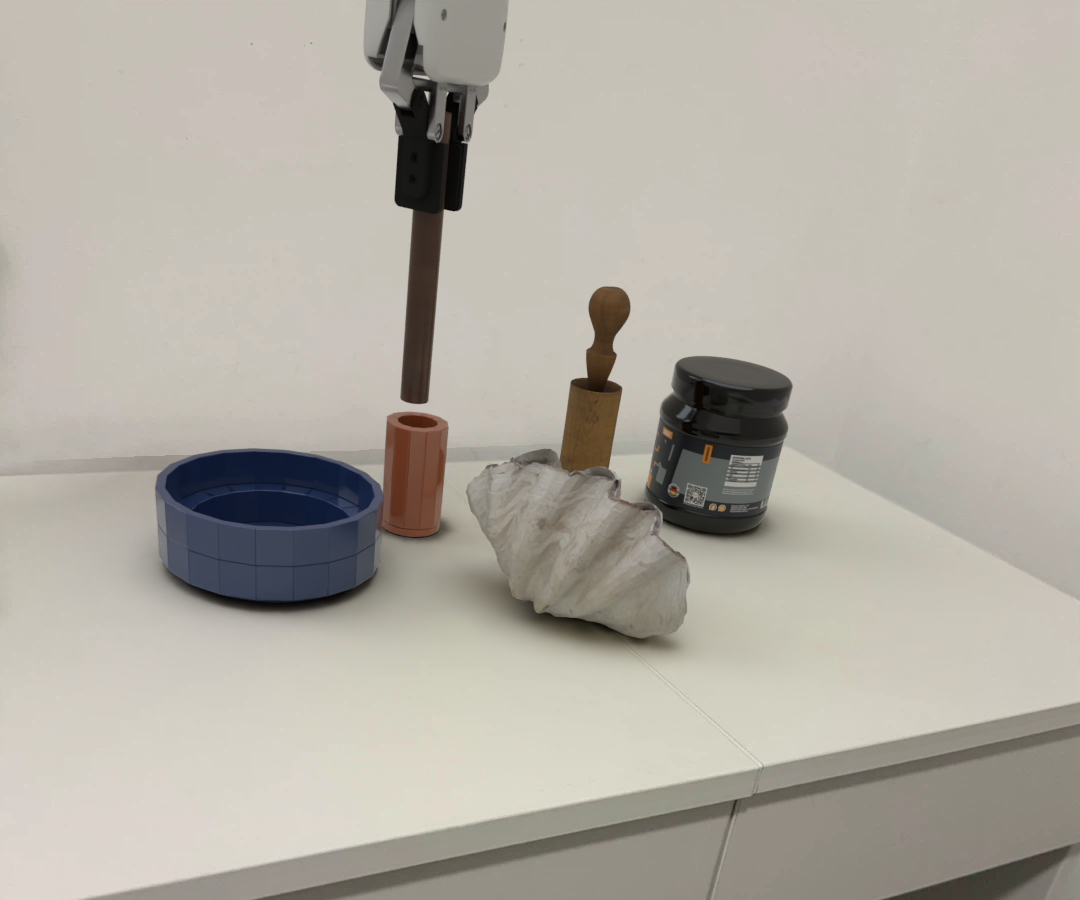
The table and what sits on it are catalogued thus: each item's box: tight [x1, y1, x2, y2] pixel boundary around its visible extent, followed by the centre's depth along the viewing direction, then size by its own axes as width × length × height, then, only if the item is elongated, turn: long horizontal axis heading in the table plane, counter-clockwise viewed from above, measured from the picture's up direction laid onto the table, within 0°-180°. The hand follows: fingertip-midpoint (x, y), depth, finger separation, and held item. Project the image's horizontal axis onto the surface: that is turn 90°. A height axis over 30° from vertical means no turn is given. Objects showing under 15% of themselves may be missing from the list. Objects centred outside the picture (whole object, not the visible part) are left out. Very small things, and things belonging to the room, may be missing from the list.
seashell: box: [465, 448, 691, 639], centre depth 69 cm, size 10×15×10 cm
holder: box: [382, 411, 450, 538], centre depth 78 cm, size 4×4×8 cm
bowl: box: [154, 447, 384, 604], centre depth 70 cm, size 14×14×6 cm
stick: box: [399, 111, 452, 405], centre depth 70 cm, size 2×2×18 cm
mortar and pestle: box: [559, 285, 631, 473], centre depth 80 cm, size 7×6×18 cm
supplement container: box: [644, 355, 794, 535], centre depth 88 cm, size 10×10×12 cm
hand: (428, 206), depth 68 cm, fingers closed on stick, 2 cm apart
